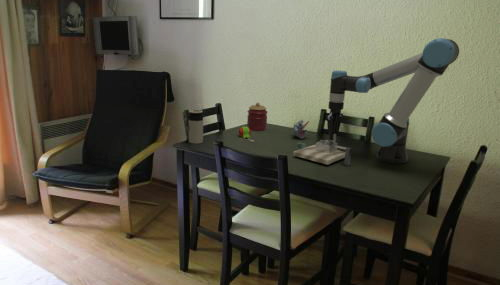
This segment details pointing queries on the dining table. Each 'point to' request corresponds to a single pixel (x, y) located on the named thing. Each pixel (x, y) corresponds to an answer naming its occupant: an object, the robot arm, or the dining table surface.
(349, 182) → the dining table surface
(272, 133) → the dining table surface
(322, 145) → the cover
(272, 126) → the dining table surface
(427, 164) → the dining table surface
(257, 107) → the canister
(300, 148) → the patterned tray
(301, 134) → the toy figurine
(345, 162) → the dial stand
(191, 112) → the travel mug
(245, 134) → the toy measuring tape
